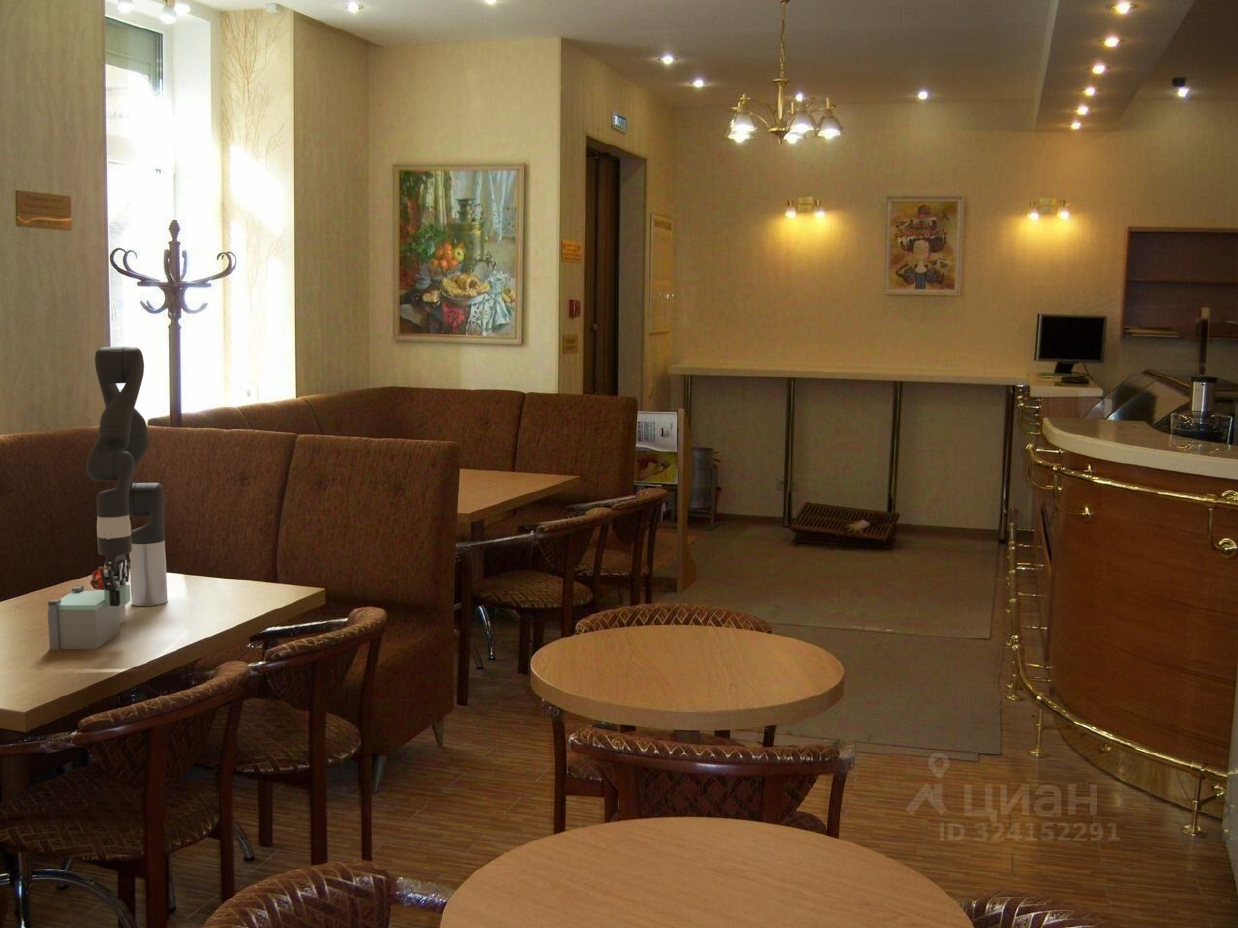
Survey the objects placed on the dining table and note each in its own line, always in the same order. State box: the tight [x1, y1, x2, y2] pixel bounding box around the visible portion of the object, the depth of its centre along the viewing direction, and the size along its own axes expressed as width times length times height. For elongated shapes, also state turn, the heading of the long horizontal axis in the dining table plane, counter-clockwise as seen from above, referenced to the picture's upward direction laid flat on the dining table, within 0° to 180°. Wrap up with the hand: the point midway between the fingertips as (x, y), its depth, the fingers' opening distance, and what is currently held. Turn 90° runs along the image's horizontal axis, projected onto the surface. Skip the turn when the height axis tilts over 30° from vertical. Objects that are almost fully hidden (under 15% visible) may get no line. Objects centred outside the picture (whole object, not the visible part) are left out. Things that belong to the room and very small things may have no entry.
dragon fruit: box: [89, 566, 112, 590], centre depth 343 cm, size 8×8×12 cm
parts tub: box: [47, 585, 121, 651], centre depth 290 cm, size 17×11×12 cm, turn 3°
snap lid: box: [58, 584, 131, 610], centre depth 290 cm, size 14×16×4 cm
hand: (117, 603), depth 290 cm, fingers closed on snap lid, 3 cm apart
